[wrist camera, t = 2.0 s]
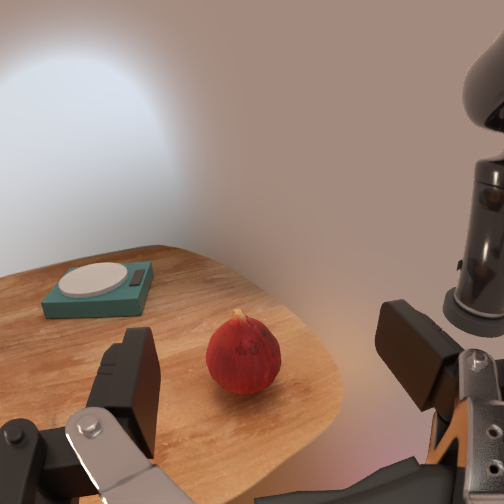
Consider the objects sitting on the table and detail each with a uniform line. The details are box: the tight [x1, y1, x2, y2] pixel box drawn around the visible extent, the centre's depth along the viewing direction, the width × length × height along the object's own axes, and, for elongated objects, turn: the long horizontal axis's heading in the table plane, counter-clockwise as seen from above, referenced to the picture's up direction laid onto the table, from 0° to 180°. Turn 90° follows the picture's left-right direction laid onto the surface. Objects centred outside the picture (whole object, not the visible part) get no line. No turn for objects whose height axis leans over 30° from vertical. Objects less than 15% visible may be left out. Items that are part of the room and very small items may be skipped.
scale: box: [41, 262, 153, 318], centre depth 41 cm, size 14×12×3 cm
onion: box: [206, 309, 281, 395], centre depth 24 cm, size 6×6×8 cm
